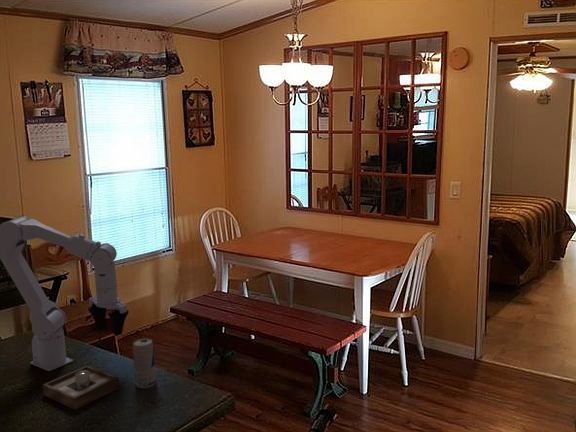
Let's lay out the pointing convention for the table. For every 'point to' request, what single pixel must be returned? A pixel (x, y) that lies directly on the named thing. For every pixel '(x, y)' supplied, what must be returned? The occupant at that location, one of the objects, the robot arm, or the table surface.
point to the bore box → (68, 396)
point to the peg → (82, 380)
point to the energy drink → (144, 363)
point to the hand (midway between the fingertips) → (109, 331)
